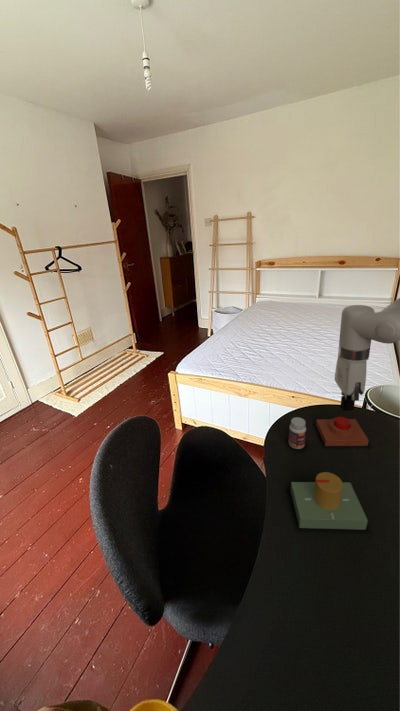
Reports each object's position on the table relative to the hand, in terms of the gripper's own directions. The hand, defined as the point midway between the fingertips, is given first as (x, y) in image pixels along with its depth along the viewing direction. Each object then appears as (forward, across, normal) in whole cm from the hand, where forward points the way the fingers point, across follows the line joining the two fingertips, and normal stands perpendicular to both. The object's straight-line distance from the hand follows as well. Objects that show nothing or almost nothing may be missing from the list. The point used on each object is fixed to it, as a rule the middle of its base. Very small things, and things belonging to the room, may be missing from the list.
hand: (346, 408), depth 87 cm
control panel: (+10, +25, -13) cm, 30 cm away
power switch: (+10, -1, -1) cm, 10 cm away
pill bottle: (+10, +3, -15) cm, 18 cm away
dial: (+7, +25, -13) cm, 29 cm away
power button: (+6, -1, -1) cm, 6 cm away
